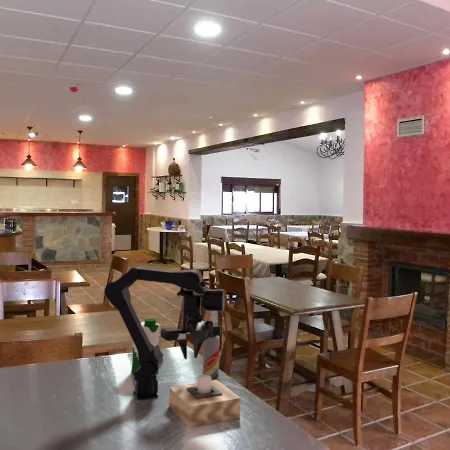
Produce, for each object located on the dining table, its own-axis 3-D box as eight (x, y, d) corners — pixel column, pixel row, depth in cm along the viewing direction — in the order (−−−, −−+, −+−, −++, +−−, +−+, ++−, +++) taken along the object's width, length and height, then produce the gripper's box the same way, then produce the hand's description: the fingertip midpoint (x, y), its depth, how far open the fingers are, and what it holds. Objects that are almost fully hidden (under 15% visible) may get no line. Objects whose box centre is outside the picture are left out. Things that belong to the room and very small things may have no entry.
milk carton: (144, 379, 171) (146, 323, 171) (127, 373, 177) (128, 319, 176) (162, 372, 178) (163, 318, 178) (144, 367, 184) (145, 315, 183)
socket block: (189, 428, 135) (189, 404, 134) (169, 406, 149) (169, 385, 149) (239, 418, 142) (240, 395, 142) (216, 398, 156) (216, 378, 156)
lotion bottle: (216, 381, 171) (218, 325, 170) (200, 380, 172) (202, 324, 171) (220, 376, 176) (221, 321, 175) (204, 375, 177) (206, 320, 177)
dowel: (200, 399, 143) (201, 380, 142) (195, 394, 146) (195, 375, 146) (212, 397, 144) (213, 378, 144) (207, 392, 148) (207, 374, 148)
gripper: (173, 317, 143) (171, 370, 143) (229, 312, 151) (228, 362, 152) (160, 309, 153) (159, 359, 153) (214, 305, 161) (212, 352, 162)
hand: (190, 358), depth 155 cm, fingers open, 3 cm apart
